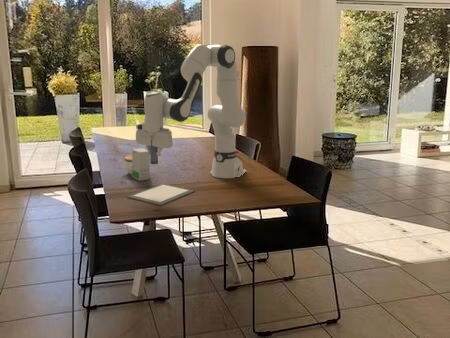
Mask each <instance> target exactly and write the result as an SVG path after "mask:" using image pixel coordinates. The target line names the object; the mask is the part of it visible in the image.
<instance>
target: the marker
mask: <svg viewBox="0 0 450 338" xmlns="http://www.w3.org/2000/svg"><path fill="white" fill-rule="evenodd" d="M153 138H154V137H153V136H150V139H151V146H150V165H158V164H159V156H156V152H158V147H155V146H153V145H152V140H153Z"/></svg>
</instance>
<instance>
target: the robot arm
mask: <svg viewBox="0 0 450 338" xmlns="http://www.w3.org/2000/svg"><path fill="white" fill-rule="evenodd" d="M207 67H216V69H217V70H216V71H217V72H216V95H217V97H218V98H219V100H220V103H221V104H219V103H218V104H213V105H211V106H210V107H209V108H208V110H207V118H208V120H209V121H210V123H211V125H212V127H213V131H214V137H215V138H214V139H215V140H214V143H215V145H214V147H215V148H214V152H213V155H214V156H213V159H212V164H211V170H210V172H209V173H210V174H211V176H212V177H215V178H218V179H236V178H235V177H240V176H241V175H242V176H244V175H245V174H246V173H247V170H246V169H245V168H244V167H243V161H241V159H239V158H238V156H237V155H238V154H240V151H239V150H237V149H236V138H237V137H236V135H235V134H234V133H233V130H232V128H240V127H242V126H243V125H244V124H245V122H246V120H247V119H246V112H245V111H244V110H243V109H242V106H241V104H240V101H239V97H238V66H237V62H236V52H235V50H234V48H233V46H230V45H227V44H220V43H219V44H218V43H216V44H202V43H201V44H196V45H195V46H194V47H193V48H192V49H191V51H189V53H188V54H187V56H186V57H185V59H184V60H183V62H182V63H181V66H180V74H181V76H182V78H183V79H184V80H185V81H186V82H187V85H186V87H185V90H183V93H182V96H181V97H180V98H178V99H175V98H170V97H168V96H166V95H164V93H162V92H161V91H152V92H151V91H150V92H148V93H147V94H145V96H144V97H145V98H144V102H143V103H144V104H143V105H144V106H143V107H144V108H143V111H144V115H145V116H144V122H142V123H138V124H136V125H135V128H136V131H135V142H136V144H138V145H142V146H143V145H144V146H145V148H146V150H148V154H150V146H151V139H150V136H153V137H154V138H153V140H152V145H153V146H155V147H158V152H156V156H158V157H160V156H161V153H162V151H163V149H172V147H173V142H174V141H173V134H172V131H171V129H169V128H164V119H165V118H166V119H167V120H169V119H170V120H174V121H176V122H179V123H183V122H186V121H187V120H188V119H189V117H190V115H191V113H192V108H193V105H194V103H195V101H196V98H197V95H198V93H199V91H200V89H201V85H202V84H203V75H204V72H205V71H206V69H207ZM245 172H246V173H245ZM244 173H245V174H244ZM243 174H244V175H243ZM242 176H241V177H242ZM241 177H240V178H241Z"/></svg>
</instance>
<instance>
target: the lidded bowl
mask: <svg viewBox="0 0 450 338" xmlns="http://www.w3.org/2000/svg"><path fill="white" fill-rule="evenodd" d="M123 160H124V168H125V169H126V171H127V172H128V173H129V174H130V175H132V154H131V155H130V154H129V155H126V156H124V158H123Z"/></svg>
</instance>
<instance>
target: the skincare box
mask: <svg viewBox="0 0 450 338" xmlns="http://www.w3.org/2000/svg"><path fill="white" fill-rule="evenodd" d="M131 150H132V152H131V155H132V174H131V177H132V178H133V179H135V180H137V181H144V180H145V181H146V180H149V179H150V173H151V172H150V169H151V168H150V166H151V161H150V154H148V150H147V148H146V149H145V148H143V147H141V148H133V149H131Z"/></svg>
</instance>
